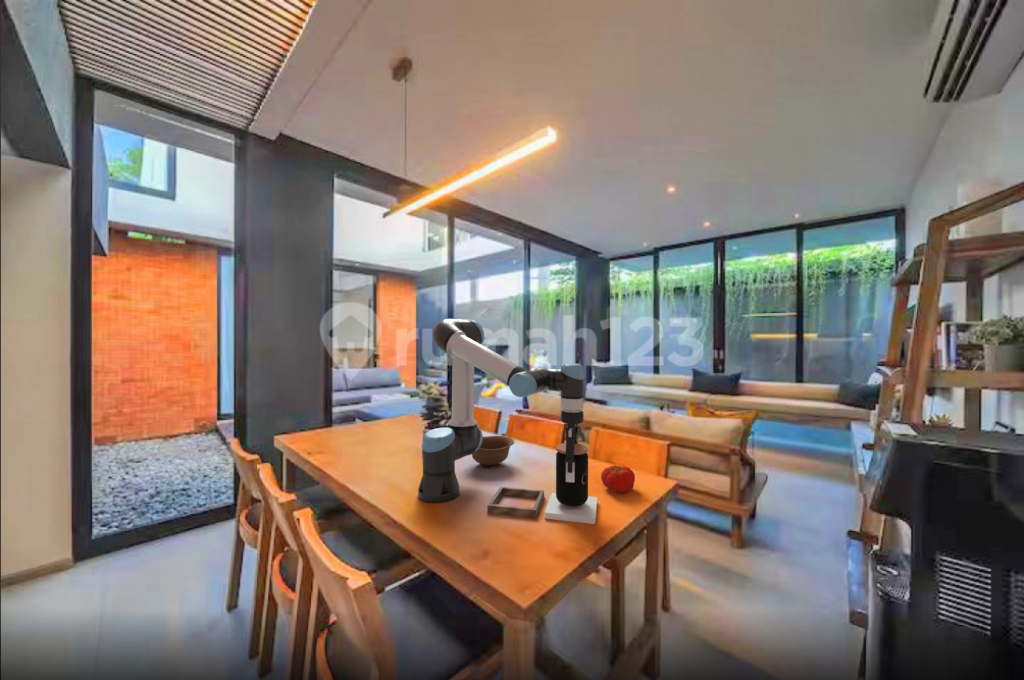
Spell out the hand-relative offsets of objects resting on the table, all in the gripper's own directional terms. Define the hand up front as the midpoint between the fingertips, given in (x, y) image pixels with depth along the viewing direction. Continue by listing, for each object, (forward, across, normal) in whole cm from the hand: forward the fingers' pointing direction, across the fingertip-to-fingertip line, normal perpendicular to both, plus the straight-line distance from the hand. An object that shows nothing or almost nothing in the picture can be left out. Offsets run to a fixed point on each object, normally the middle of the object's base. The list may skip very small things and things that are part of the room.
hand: (571, 475), depth 138 cm
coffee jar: (+9, 0, 0) cm, 9 cm away
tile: (+12, 0, 0) cm, 12 cm away
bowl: (+12, +37, +40) cm, 56 cm away
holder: (+12, 0, +19) cm, 22 cm away
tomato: (+12, +21, -15) cm, 29 cm away
